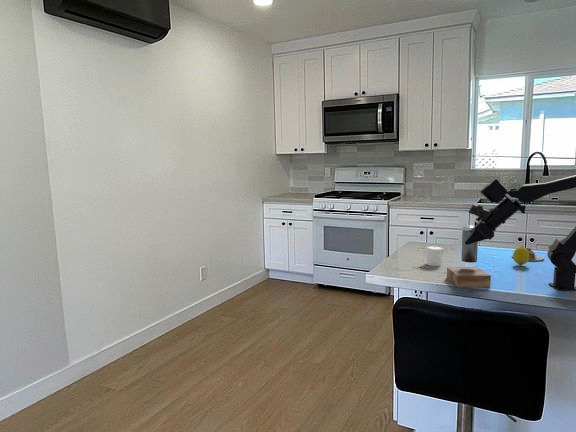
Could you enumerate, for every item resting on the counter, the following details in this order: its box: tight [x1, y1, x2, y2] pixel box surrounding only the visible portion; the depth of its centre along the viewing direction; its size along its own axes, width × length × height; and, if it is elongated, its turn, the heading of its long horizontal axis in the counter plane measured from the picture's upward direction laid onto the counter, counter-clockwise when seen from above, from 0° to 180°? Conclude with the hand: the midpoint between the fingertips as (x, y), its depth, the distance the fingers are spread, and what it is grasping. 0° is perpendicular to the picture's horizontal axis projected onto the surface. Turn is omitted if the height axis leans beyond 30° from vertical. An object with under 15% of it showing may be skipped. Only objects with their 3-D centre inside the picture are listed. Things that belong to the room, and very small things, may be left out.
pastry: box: [511, 247, 545, 262], centre depth 180 cm, size 12×12×5 cm
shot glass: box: [425, 245, 444, 267], centre depth 173 cm, size 7×7×7 cm
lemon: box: [512, 245, 529, 267], centre depth 168 cm, size 6×6×8 cm
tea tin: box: [460, 224, 479, 264], centre depth 151 cm, size 5×5×12 cm
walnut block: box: [446, 266, 492, 288], centre depth 148 cm, size 11×11×4 cm
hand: (465, 242), depth 151 cm, fingers closed on tea tin, 5 cm apart
